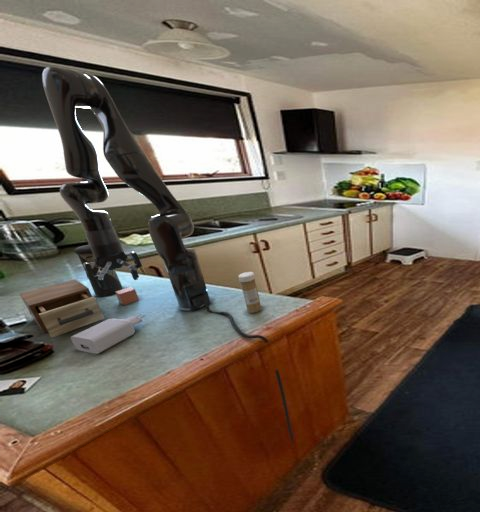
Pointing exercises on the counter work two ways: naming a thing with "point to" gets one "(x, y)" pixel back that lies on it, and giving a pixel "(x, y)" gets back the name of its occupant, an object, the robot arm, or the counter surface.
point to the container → (109, 277)
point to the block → (127, 295)
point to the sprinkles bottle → (250, 292)
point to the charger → (105, 334)
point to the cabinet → (51, 297)
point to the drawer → (69, 313)
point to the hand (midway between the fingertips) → (121, 283)
